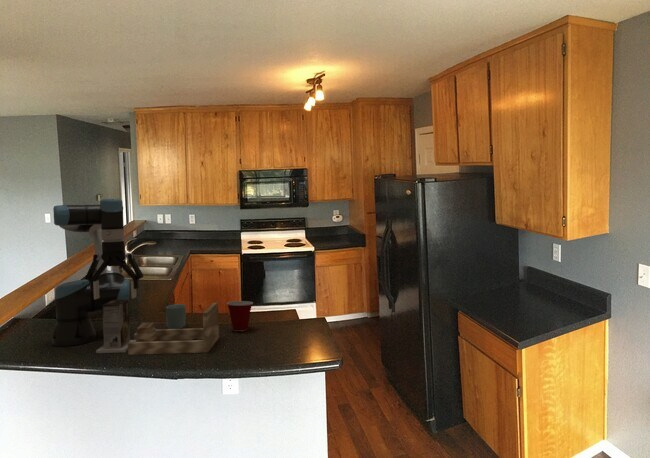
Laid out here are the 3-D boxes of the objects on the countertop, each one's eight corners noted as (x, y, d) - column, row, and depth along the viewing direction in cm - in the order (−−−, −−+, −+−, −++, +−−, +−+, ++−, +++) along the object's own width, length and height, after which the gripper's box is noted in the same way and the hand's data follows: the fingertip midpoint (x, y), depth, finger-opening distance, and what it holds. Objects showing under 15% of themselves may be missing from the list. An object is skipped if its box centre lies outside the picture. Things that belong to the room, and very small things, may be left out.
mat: (96, 353, 160) (96, 350, 160) (111, 343, 172) (111, 340, 172) (124, 352, 160) (124, 349, 160) (137, 342, 172) (137, 339, 172)
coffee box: (113, 341, 171) (111, 299, 170) (130, 341, 171) (129, 299, 170) (103, 349, 161) (101, 304, 161) (121, 348, 162) (119, 304, 161)
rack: (128, 354, 158) (126, 315, 157) (147, 339, 176) (145, 304, 175) (208, 352, 158) (207, 312, 158) (218, 337, 176) (217, 302, 176)
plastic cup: (259, 328, 189) (258, 300, 189) (244, 335, 179) (243, 305, 179) (237, 326, 194) (237, 298, 193) (222, 332, 184) (221, 303, 183)
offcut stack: (134, 351, 162) (133, 329, 161) (144, 342, 172) (143, 322, 171) (148, 350, 162) (147, 328, 161) (158, 342, 172) (157, 321, 171)
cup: (180, 332, 186) (179, 308, 186) (163, 331, 188) (162, 307, 187) (189, 327, 194) (188, 304, 193) (173, 326, 195) (172, 303, 195)
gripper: (73, 242, 161) (75, 301, 162) (143, 240, 161) (145, 299, 162) (83, 240, 168) (86, 296, 169) (151, 239, 169) (153, 295, 170)
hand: (115, 298), depth 166 cm, fingers open, 13 cm apart
